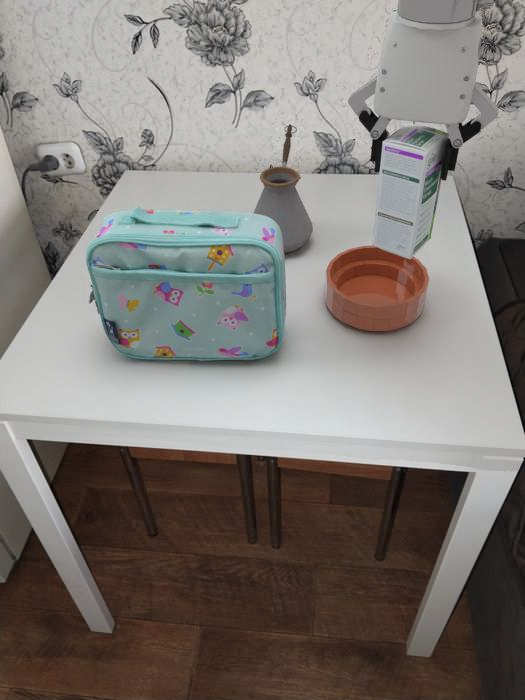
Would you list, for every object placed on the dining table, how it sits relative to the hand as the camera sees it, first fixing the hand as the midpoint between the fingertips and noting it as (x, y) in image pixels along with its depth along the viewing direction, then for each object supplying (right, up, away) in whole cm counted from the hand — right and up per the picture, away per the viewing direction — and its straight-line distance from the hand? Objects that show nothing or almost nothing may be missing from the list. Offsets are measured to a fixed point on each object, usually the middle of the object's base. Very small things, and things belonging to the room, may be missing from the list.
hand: (411, 169), depth 70 cm
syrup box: (0, -8, +7) cm, 10 cm away
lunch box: (-27, -20, +18) cm, 39 cm away
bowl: (0, -14, +23) cm, 27 cm away
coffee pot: (-14, +1, +40) cm, 42 cm away
